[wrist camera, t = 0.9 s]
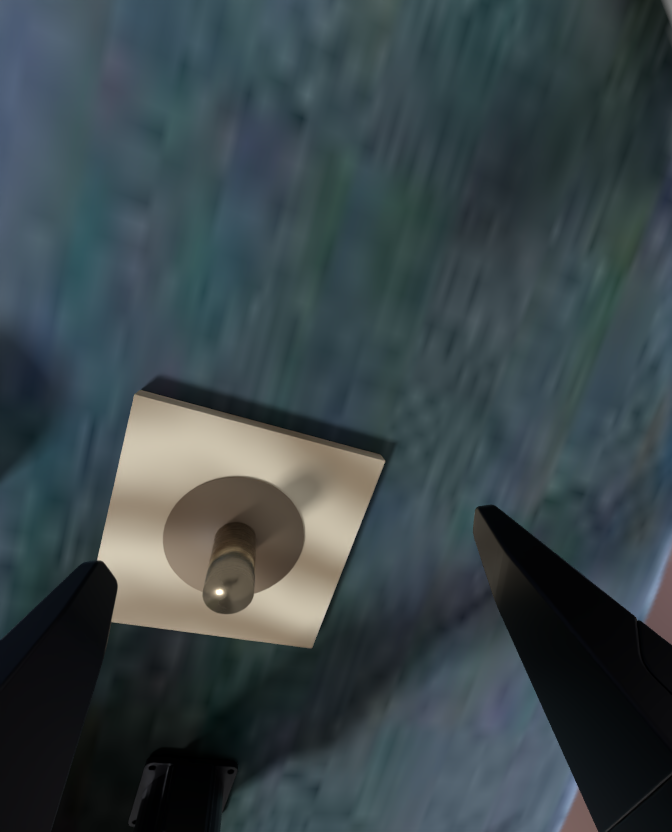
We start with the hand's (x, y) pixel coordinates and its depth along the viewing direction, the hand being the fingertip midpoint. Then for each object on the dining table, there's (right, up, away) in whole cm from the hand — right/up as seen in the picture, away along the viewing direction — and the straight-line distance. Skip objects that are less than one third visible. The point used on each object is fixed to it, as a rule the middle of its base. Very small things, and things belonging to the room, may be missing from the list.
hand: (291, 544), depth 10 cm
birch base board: (-5, -4, +15) cm, 16 cm away
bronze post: (-5, -4, +14) cm, 15 cm away
